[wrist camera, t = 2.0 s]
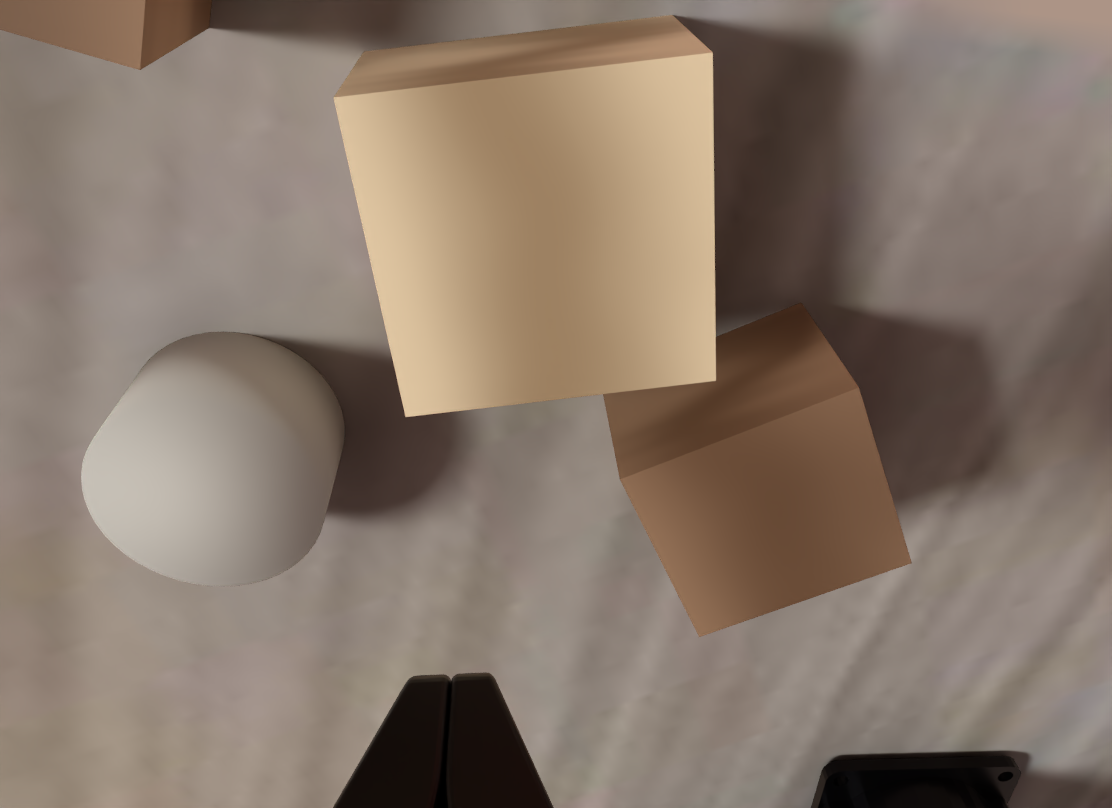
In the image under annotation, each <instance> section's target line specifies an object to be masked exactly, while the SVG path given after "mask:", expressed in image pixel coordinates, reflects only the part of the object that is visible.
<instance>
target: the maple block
mask: <svg viewBox="0 0 1112 808" xmlns="http://www.w3.org/2000/svg"><path fill="white" fill-rule="evenodd" d="M334 102H335V106H336V111H337V115H338V119H339V124H340V128H341V133H342V137H343V142H344V146H345V150H346V155H347V159H348V164H349V168H350V173H351V177H352V182H353V186H354V190H355V195H356V199H357V204H358V208H359V213H360V217H361V221H362V226H363V230H364V235H365V239H366V244H367V248H368V252H369V257H370V261H371V266H372V270H373V275H374V279H375V284H376V288H377V292H378V297H379V301H380V306H381V310H382V315H383V319H384V323H385V328H386V332H387V337H388V341H389V346H390V350H391V354H392V359H393V363H394V368H395V372H396V377H397V381H398V386H399V390H400V394H401V399H402V403H403V408H404V412H405V417H411V416H420V415H428V414H437V413H445V412H454V411H462V410H471V409H480V408H488V407H497V406H505V405H514V404H522V403H531V402H539V401H548V400H556V399H565V398H574V397H582V396H591V395H599V394H608V393H616V392H625V391H633V390H642V389H650V388H659V387H668V386H676V385H685V384H693V383H702V382H710V381H716V327H715V224H714V121H713V52H712V51H711V50H710V49H708V48H707V47H706V46H705V45H704V44H703V43H702V42H701V41H700V40H699V39H698V38H697V37H696V36H694V35H693V34H692V33H691V32H690V31H689V30H688V29H687V28H686V27H685V26H684V25H683V24H681V23H680V22H679V21H678V20H677V19H676V18H675V17H674V16H673V15H669V16H660V17H652V18H643V19H635V20H626V21H618V22H610V23H601V24H593V25H584V26H576V27H567V28H559V29H551V30H542V31H534V32H525V33H517V34H508V35H500V36H492V37H483V38H475V39H466V40H458V41H449V42H441V43H433V44H424V45H416V46H407V47H399V48H390V49H382V50H373V51H365V52H363V54H362V55H361V57H360V58H359V60H358V61H357V63H356V64H355V66H354V67H353V69H352V70H351V72H350V73H349V75H348V76H347V78H346V79H345V81H344V83H343V84H342V86H341V87H340V89H339V90H338V92H337V93H336V95H335V96H334Z"/></svg>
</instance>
